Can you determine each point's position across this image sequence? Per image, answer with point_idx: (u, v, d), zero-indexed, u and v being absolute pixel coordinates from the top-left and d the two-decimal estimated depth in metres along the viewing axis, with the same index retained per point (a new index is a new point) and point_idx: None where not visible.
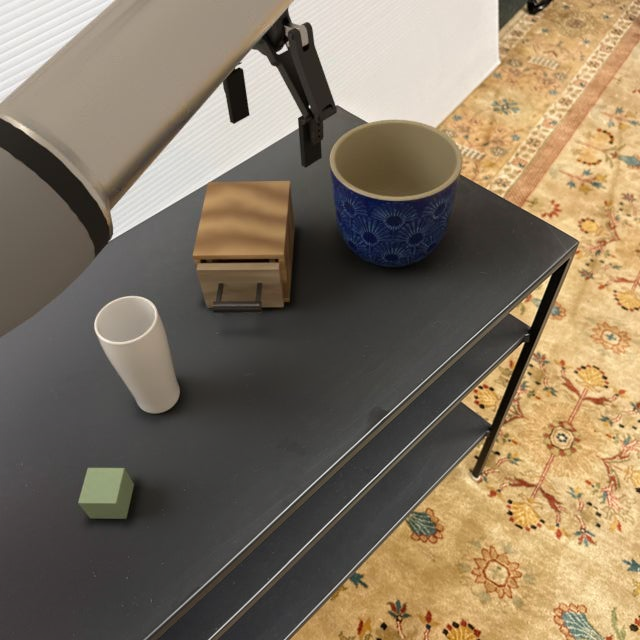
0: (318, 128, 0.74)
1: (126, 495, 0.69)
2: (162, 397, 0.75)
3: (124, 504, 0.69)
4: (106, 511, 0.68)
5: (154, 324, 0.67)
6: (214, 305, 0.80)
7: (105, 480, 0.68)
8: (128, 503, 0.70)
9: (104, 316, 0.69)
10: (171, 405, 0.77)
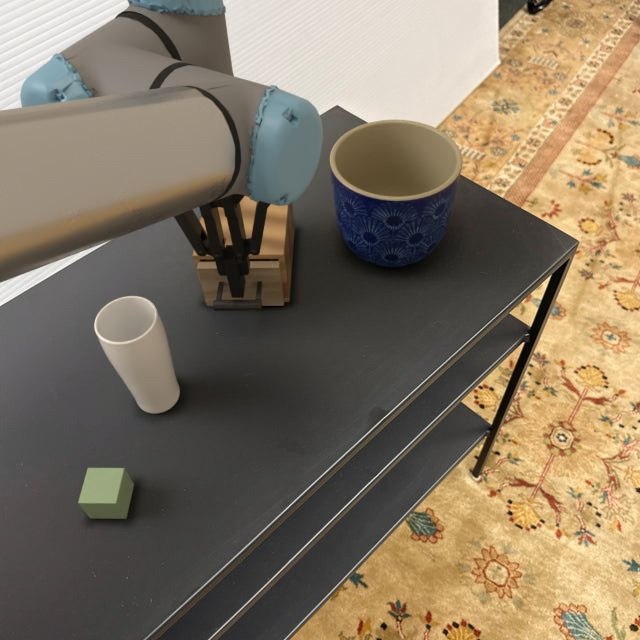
0: (247, 260, 0.77)
1: (126, 495, 0.69)
2: (162, 397, 0.75)
3: (124, 504, 0.69)
4: (106, 511, 0.68)
5: (154, 324, 0.67)
6: (214, 303, 0.80)
7: (105, 480, 0.68)
8: (128, 503, 0.70)
9: (104, 316, 0.69)
10: (171, 405, 0.77)
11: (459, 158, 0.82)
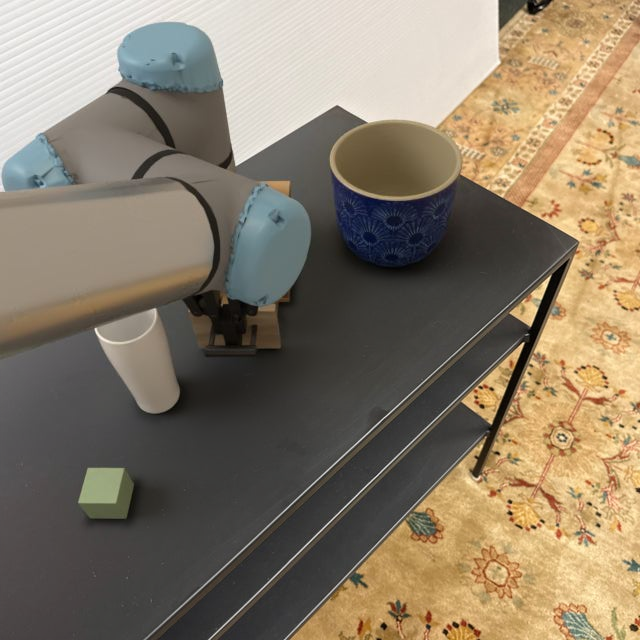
0: (244, 319, 0.75)
1: (126, 495, 0.69)
2: (162, 397, 0.75)
3: (124, 504, 0.69)
4: (106, 511, 0.68)
5: (154, 324, 0.67)
6: (206, 349, 0.76)
7: (105, 480, 0.68)
8: (128, 503, 0.70)
9: None
10: (171, 405, 0.77)
11: (459, 158, 0.82)
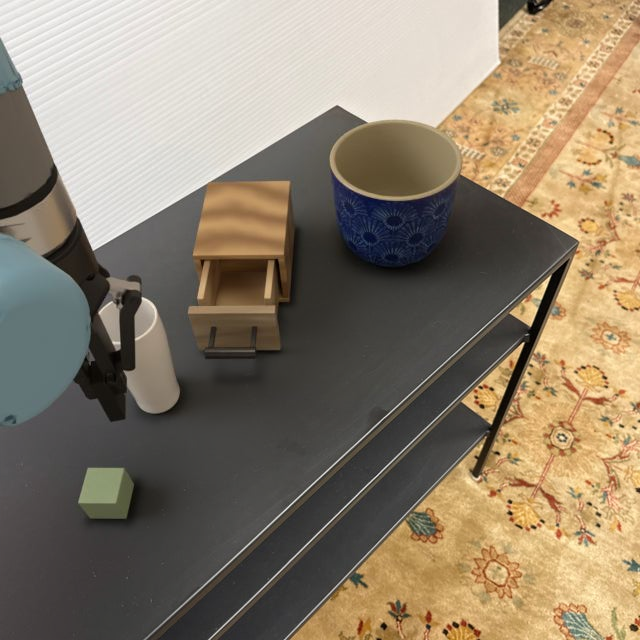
0: None
1: (126, 495, 0.69)
2: (162, 397, 0.75)
3: (124, 504, 0.69)
4: (106, 511, 0.68)
5: (154, 324, 0.67)
6: (206, 351, 0.75)
7: (105, 480, 0.68)
8: (128, 503, 0.70)
9: (104, 316, 0.69)
10: (171, 405, 0.77)
11: (459, 158, 0.82)
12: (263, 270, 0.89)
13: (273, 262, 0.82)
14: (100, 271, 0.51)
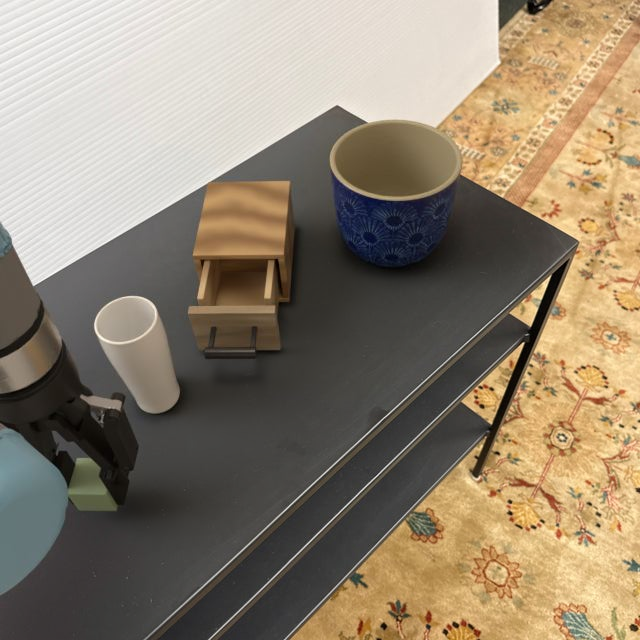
0: None
1: None
2: (162, 397, 0.75)
3: None
4: (95, 503, 0.66)
5: (154, 324, 0.67)
6: (206, 351, 0.75)
7: (95, 470, 0.65)
8: None
9: (104, 316, 0.69)
10: (171, 405, 0.77)
11: (459, 158, 0.82)
12: (263, 270, 0.89)
13: (273, 262, 0.82)
14: (83, 392, 0.54)
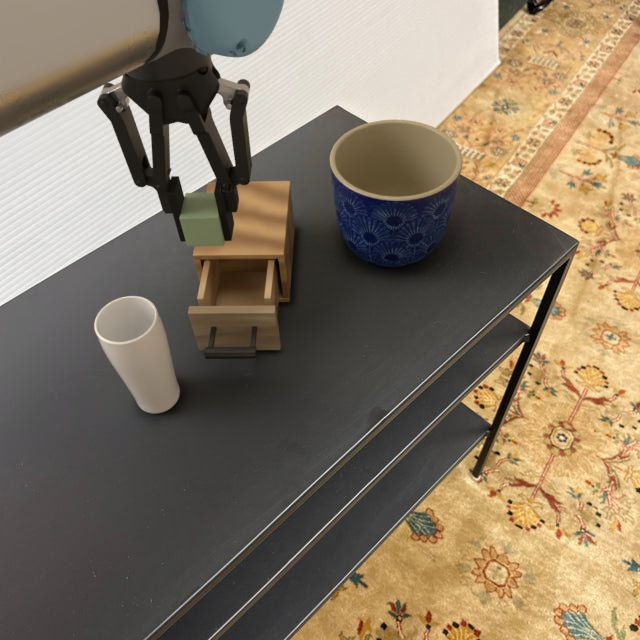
0: None
1: None
2: (162, 397, 0.75)
3: None
4: (205, 233, 0.67)
5: (154, 324, 0.67)
6: (206, 351, 0.75)
7: (205, 201, 0.67)
8: None
9: (104, 316, 0.69)
10: (171, 405, 0.77)
11: (459, 158, 0.82)
12: (263, 270, 0.89)
13: (273, 262, 0.82)
14: (213, 72, 0.55)
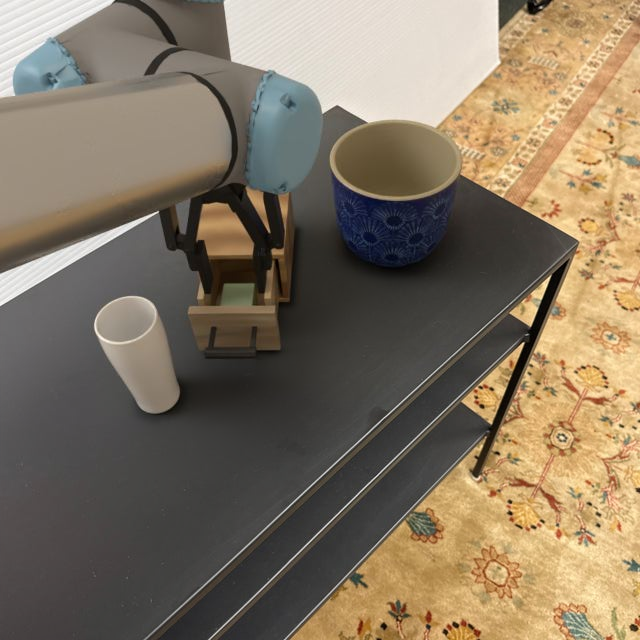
0: None
1: None
2: (162, 397, 0.75)
3: None
4: None
5: (154, 324, 0.67)
6: (206, 351, 0.75)
7: (240, 291, 0.81)
8: None
9: (104, 316, 0.69)
10: (171, 405, 0.77)
11: (459, 158, 0.82)
12: None
13: (273, 262, 0.82)
14: None
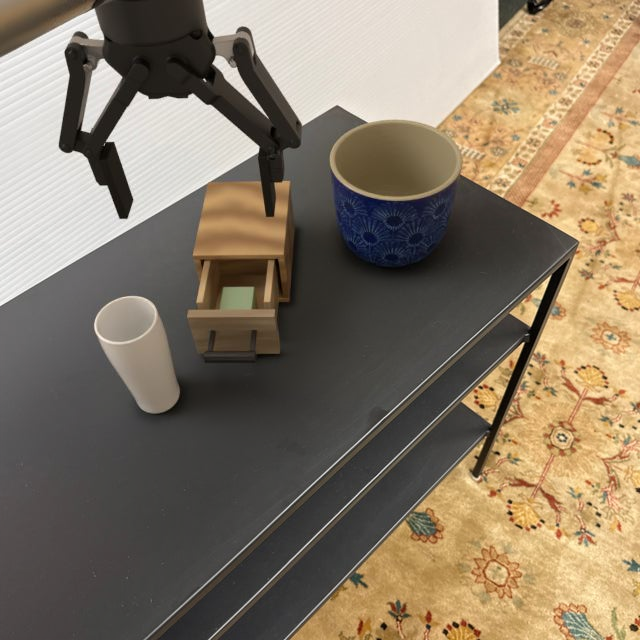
0: None
1: None
2: (162, 397, 0.75)
3: None
4: None
5: (154, 324, 0.67)
6: (205, 355, 0.75)
7: (239, 295, 0.81)
8: None
9: (104, 316, 0.69)
10: (171, 405, 0.77)
11: (459, 158, 0.82)
12: (263, 273, 0.88)
13: (273, 265, 0.81)
14: (208, 38, 0.48)
